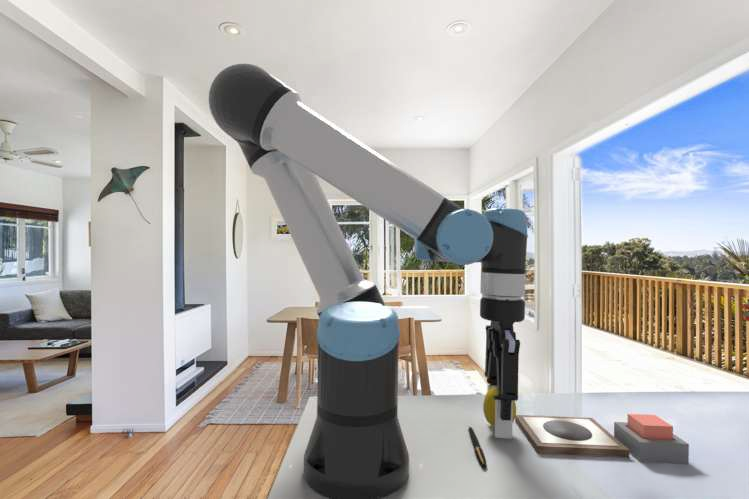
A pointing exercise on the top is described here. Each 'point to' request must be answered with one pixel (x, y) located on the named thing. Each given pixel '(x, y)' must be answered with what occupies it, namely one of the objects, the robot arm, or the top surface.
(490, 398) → the lemon
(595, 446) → the board
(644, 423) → the button
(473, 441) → the fountain pen
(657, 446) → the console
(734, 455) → the top surface
